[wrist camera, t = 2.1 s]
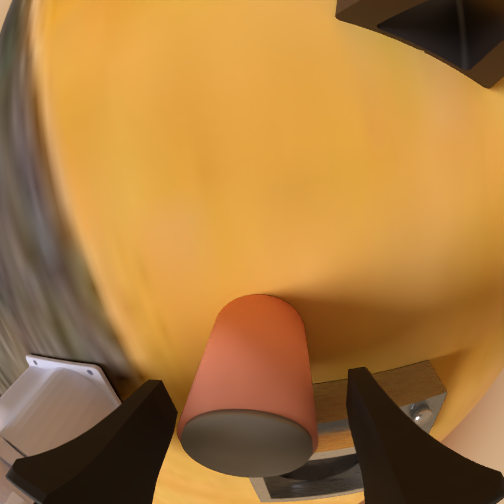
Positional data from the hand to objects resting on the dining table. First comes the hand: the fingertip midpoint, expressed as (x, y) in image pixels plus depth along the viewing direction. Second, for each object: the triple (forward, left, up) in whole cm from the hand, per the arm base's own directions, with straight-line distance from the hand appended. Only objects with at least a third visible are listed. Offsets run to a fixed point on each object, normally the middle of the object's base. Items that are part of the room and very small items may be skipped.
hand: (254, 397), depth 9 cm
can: (0, 0, -4) cm, 4 cm away
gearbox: (+4, -9, -4) cm, 10 cm away
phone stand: (+11, +16, -5) cm, 20 cm away
